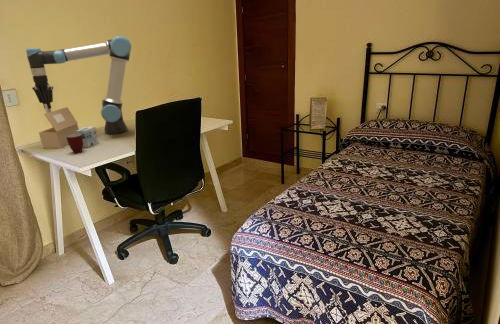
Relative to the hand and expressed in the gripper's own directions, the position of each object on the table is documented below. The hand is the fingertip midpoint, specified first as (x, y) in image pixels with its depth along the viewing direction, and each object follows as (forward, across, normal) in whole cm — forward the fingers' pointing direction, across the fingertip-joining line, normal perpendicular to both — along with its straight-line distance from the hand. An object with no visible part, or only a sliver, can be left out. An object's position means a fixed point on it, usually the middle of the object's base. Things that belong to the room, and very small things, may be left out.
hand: (49, 113), depth 215 cm
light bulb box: (+20, +25, -3) cm, 32 cm away
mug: (+20, +26, -15) cm, 36 cm away
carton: (+19, +4, 0) cm, 20 cm away
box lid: (+3, +8, 0) cm, 9 cm away
